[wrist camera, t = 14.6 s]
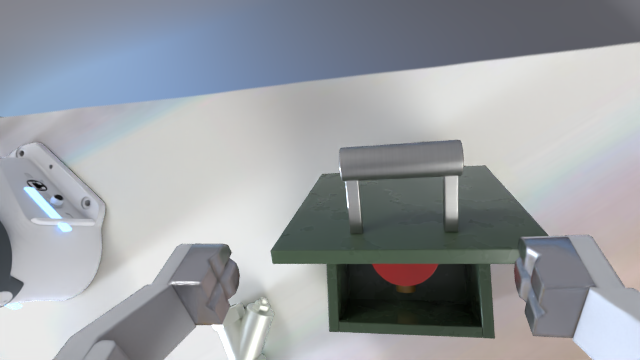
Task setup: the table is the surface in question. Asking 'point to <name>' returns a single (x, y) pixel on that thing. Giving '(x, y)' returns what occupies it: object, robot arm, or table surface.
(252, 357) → the pipe fitting
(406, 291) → the fire valve
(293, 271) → the table surface
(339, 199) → the lid
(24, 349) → the table surface
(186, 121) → the table surface
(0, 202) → the robot arm
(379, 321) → the box
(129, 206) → the table surface
